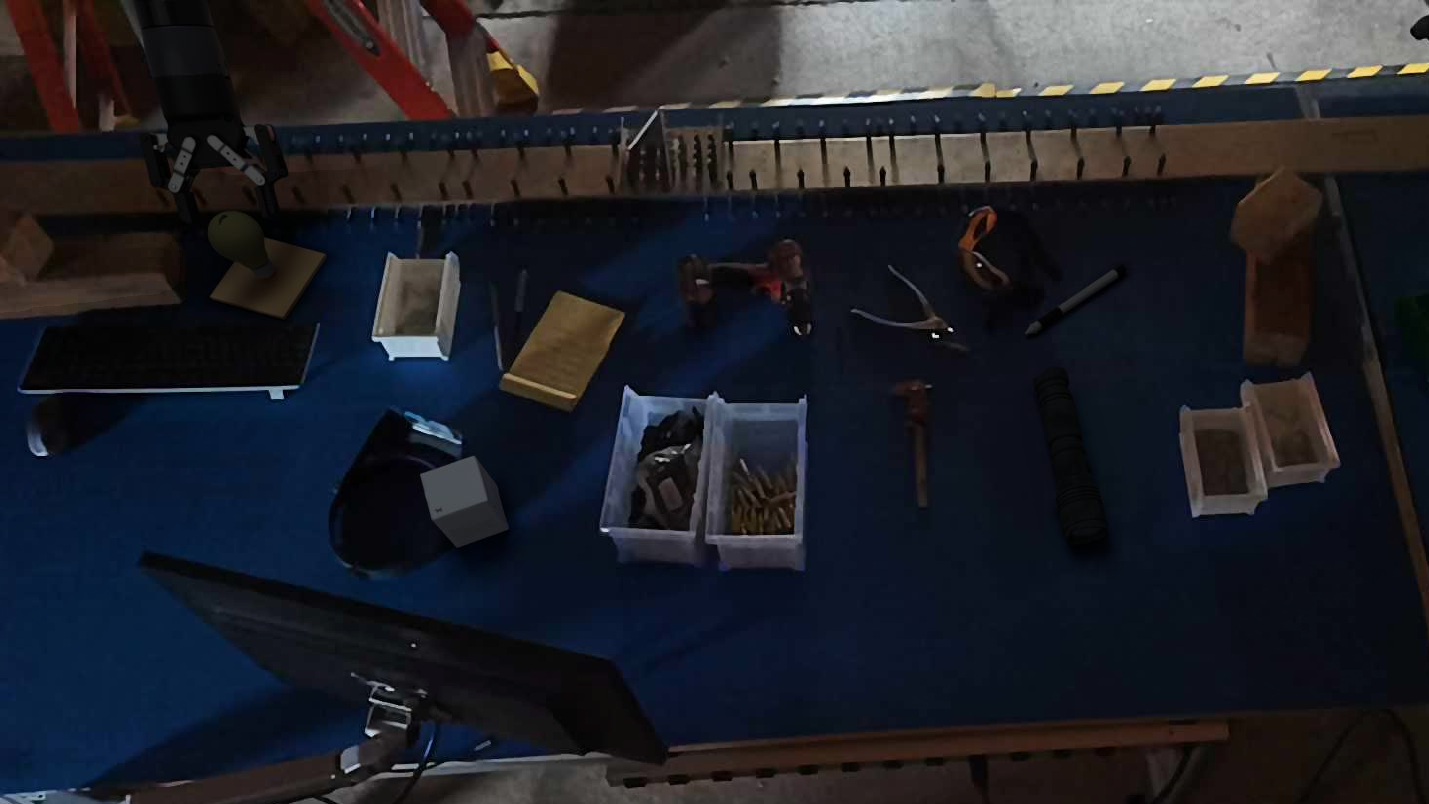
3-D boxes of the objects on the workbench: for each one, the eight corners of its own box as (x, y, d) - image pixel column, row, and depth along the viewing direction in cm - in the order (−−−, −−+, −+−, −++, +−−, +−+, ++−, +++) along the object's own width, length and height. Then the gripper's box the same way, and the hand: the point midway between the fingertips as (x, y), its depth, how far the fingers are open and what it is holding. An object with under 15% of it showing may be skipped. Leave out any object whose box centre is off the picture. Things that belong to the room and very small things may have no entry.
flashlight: (1062, 548, 125) (1067, 529, 121) (1027, 390, 134) (1031, 367, 129) (1106, 542, 125) (1113, 523, 121) (1068, 385, 134) (1073, 362, 130)
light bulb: (247, 257, 139) (201, 202, 130) (294, 254, 140) (251, 198, 131) (240, 294, 137) (193, 240, 128) (288, 290, 137) (243, 237, 128)
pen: (1126, 274, 141) (1128, 267, 140) (1026, 342, 137) (1027, 335, 135) (1119, 267, 142) (1121, 261, 140) (1019, 334, 137) (1020, 328, 136)
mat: (212, 299, 137) (209, 296, 137) (256, 237, 142) (253, 234, 141) (285, 320, 136) (282, 317, 136) (327, 256, 140) (325, 253, 140)
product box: (511, 530, 125) (488, 501, 118) (456, 549, 124) (430, 521, 117) (498, 485, 127) (475, 453, 121) (444, 503, 126) (418, 473, 120)
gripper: (104, 77, 122) (151, 231, 128) (240, 66, 123) (281, 220, 128) (143, 79, 129) (187, 225, 135) (271, 69, 130) (309, 214, 135)
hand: (233, 222), depth 131 cm, fingers open, 8 cm apart
